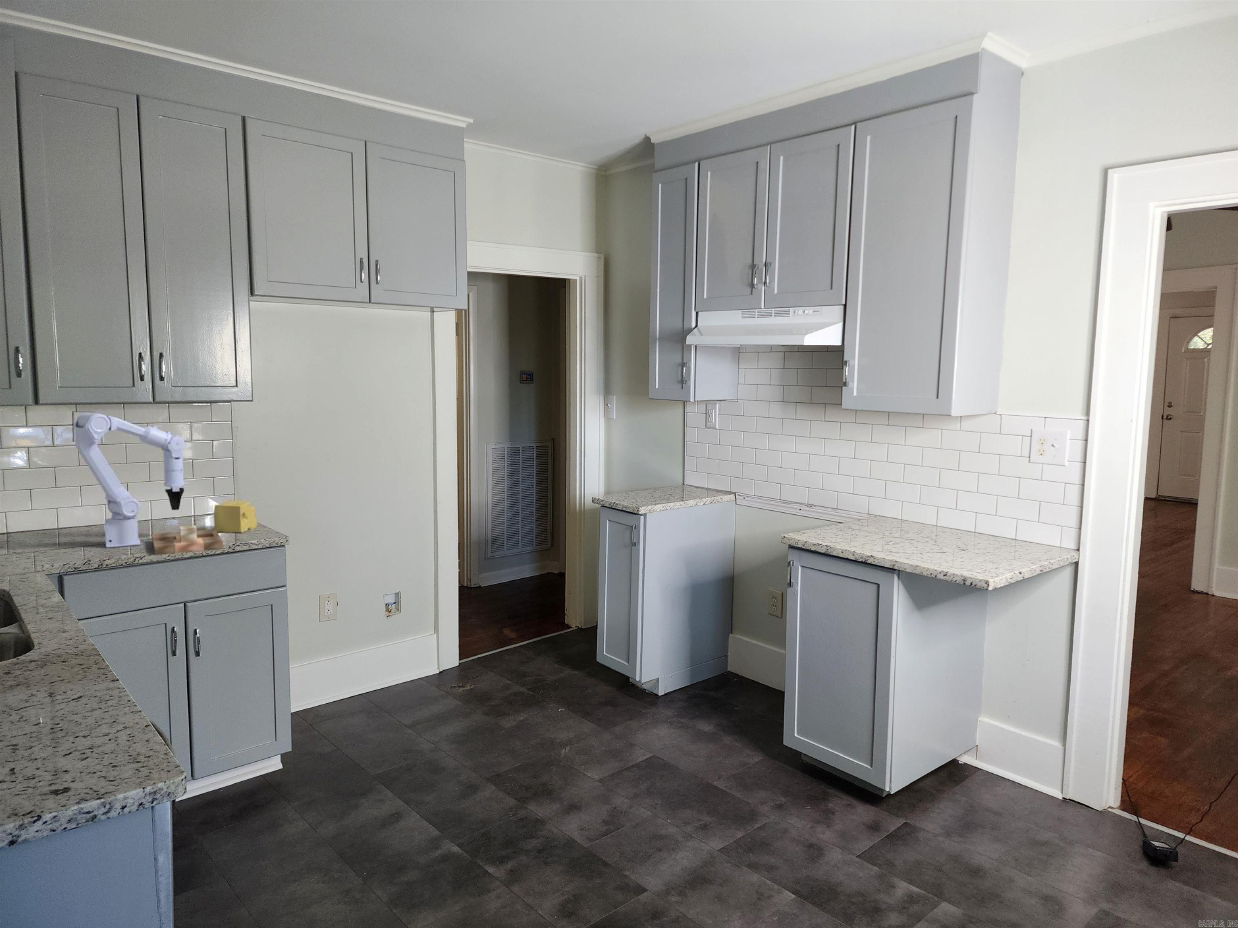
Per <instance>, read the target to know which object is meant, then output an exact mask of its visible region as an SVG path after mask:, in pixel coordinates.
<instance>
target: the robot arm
mask: <svg viewBox="0 0 1238 928" xmlns="http://www.w3.org/2000/svg"><path fill="white" fill-rule="evenodd" d="M73 427H74V431H75V434H74V435H75V440H74V443H75V447H76V450H77V451H78V452H79V453H78V454H80V457H81V458H82V459H83V461H84V462H85V464H86V465H87V467H88V468H89V471H90V472H91V473H92V475H93V476H94V477H95V479H96V481H97V482H98V484H99V486H100V487H101V489H102V490H103V492H104V494H105V497H104V498H105V500H106V503H107V509H108V511H109V512H110V513H111V517H109V518H104V533H105V534H104V536H103V539H104V543H105V547H106V548H116V547H117V548H119V547H129V546H138V545H139V546H140V545H141V540H140V539H139V526H138V525H139V524H138V514H139V513H140V511H141V502H140V501H138V500H137V499H135V498H134V497H133V496H132V495H131V493H130V492H129V491H128V490H126V489H125V487H123V485H122V483H121V482H120V480H119V479H118V477H117V475H116V474H115V472H114V470H113V469H112V468H111V466H110V464H109V463H108V461H107V459H106V458H105V457H104V455H103V453H102V451H101V450H100V449H99V447H98V444H99V442H100V440H101V439H102V437H103V436H104V435H105V434H106V433H107V432H108V431H109V432H110V431H111V432H112V431H118V432H119V431H120V432H122V433H126V434H127V435H128V434H129V435H132V436H135V437H138V438H139V441H140V442H141V443H144V444H147V445H150V446H153V447H156V448H158V449H161V450H162V451H163V471H164V472H163V475H164V477H163V478H164V483H163V485H164V487H167V489H164V491H165V493H166V495H167V496H168V499H169V504H170V505H169V506H170V508H171V510H172V511H179V510H180V507H181V499H182V496H183V494H184V492H185V489H184V487H183V486H185V485H188V483H189V482H187V481H184V457H183V453H184V452H183V451H184V450H185V449H186V447H187V446H186V445H187V443H186V442H185V441H184V439H183V437H182V436H181V435H180V436H179V435H175V434H172V433H171V431H163V430H161V429H158V426H156V425H151V426H150V425H147V426H145V427H142V426H138V425H136V424H134V423H131V422H129V421H126V420H124V419H121V418H118V417H114V416H110V415H105V414H103V413H93V412H92V413H91V412H83V413H81V414H80V415H78V416H77V418H76V420H75V422H74V424H73Z"/></svg>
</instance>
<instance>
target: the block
mask: <svg viewBox="0 0 1238 928" xmlns="http://www.w3.org/2000/svg"><path fill="white" fill-rule="evenodd" d="M197 531H198V529H197V525H183V526H179V532H180V541H181V543H187V542H197Z"/></svg>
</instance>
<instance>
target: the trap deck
mask: <svg viewBox="0 0 1238 928" xmlns="http://www.w3.org/2000/svg"><path fill="white" fill-rule="evenodd" d="M223 542H224V540H222V538H221V536H220V534H219V532H217V531H216V530H215V528H214V529H201V530H200V529H199V530H197V542H187V543H181V541H180V531H174V532H162V533H152V534H151V543H152V545H153V551H154V555H155V556H156V555H165V554H169V555H170V554H177V553H187V552H200V551H202V552H203V551H211V550H223V549H224V543H223Z"/></svg>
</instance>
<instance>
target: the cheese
mask: <svg viewBox="0 0 1238 928" xmlns="http://www.w3.org/2000/svg"><path fill="white" fill-rule="evenodd" d="M256 513H257V512H256V508H255V507H254V506H252V503H250V502H248V501H243V500H242V501H241V500H233V499H232V500H227V501H225V502H223V503H218V504H215V505H214V508H213V521H214V529H215V530H216V531H217V533H232V532H242V533H244V531H245V532H247V531H249V530H250V531H251V530H254V528H255V529H257V526H258V520H257V518H256V516H255V515H256Z"/></svg>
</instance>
